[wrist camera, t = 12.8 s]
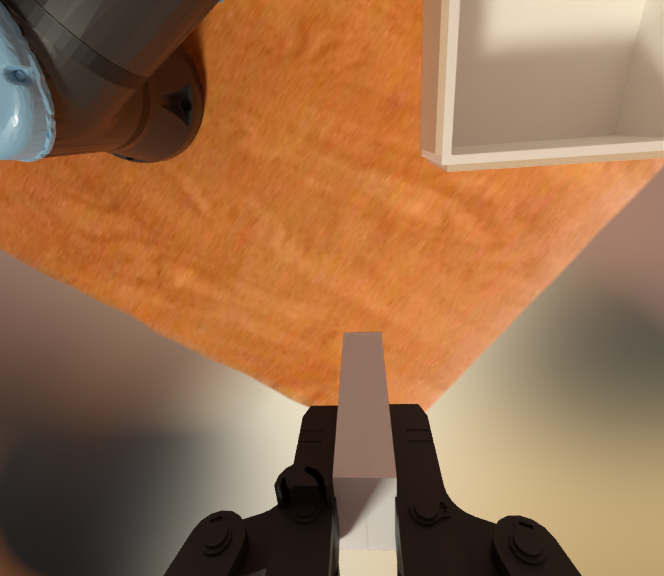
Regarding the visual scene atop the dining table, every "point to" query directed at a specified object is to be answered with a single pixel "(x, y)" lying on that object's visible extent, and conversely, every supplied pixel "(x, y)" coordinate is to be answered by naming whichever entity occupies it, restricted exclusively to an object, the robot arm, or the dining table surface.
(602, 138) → the carton
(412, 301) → the dining table surface
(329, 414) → the robot arm
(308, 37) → the dining table surface
